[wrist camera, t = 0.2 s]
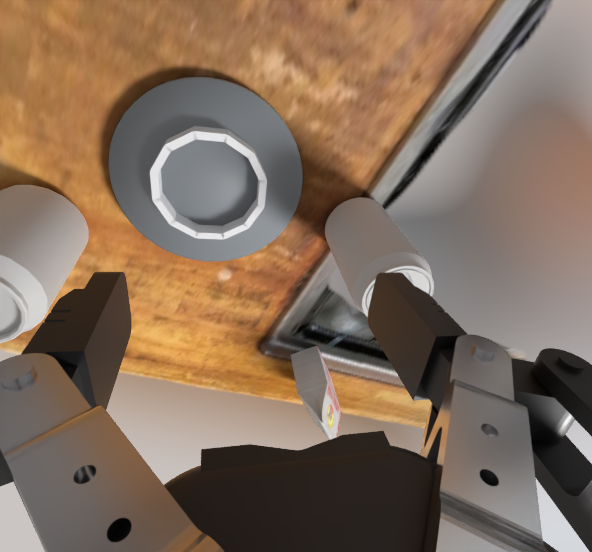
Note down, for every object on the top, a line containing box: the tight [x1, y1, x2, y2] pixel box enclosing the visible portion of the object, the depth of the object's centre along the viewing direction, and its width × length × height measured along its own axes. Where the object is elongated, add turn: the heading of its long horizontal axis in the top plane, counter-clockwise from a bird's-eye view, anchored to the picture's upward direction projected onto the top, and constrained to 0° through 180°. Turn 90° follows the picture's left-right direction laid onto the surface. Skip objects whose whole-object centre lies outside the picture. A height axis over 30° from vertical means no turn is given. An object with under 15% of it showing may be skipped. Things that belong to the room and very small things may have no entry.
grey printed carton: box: [291, 346, 341, 440], centre depth 45 cm, size 4×7×10 cm, turn 18°
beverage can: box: [325, 197, 434, 317], centre depth 32 cm, size 6×6×12 cm
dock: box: [109, 76, 303, 261], centre depth 31 cm, size 16×16×2 cm
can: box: [0, 185, 89, 343], centre depth 27 cm, size 8×8×12 cm
